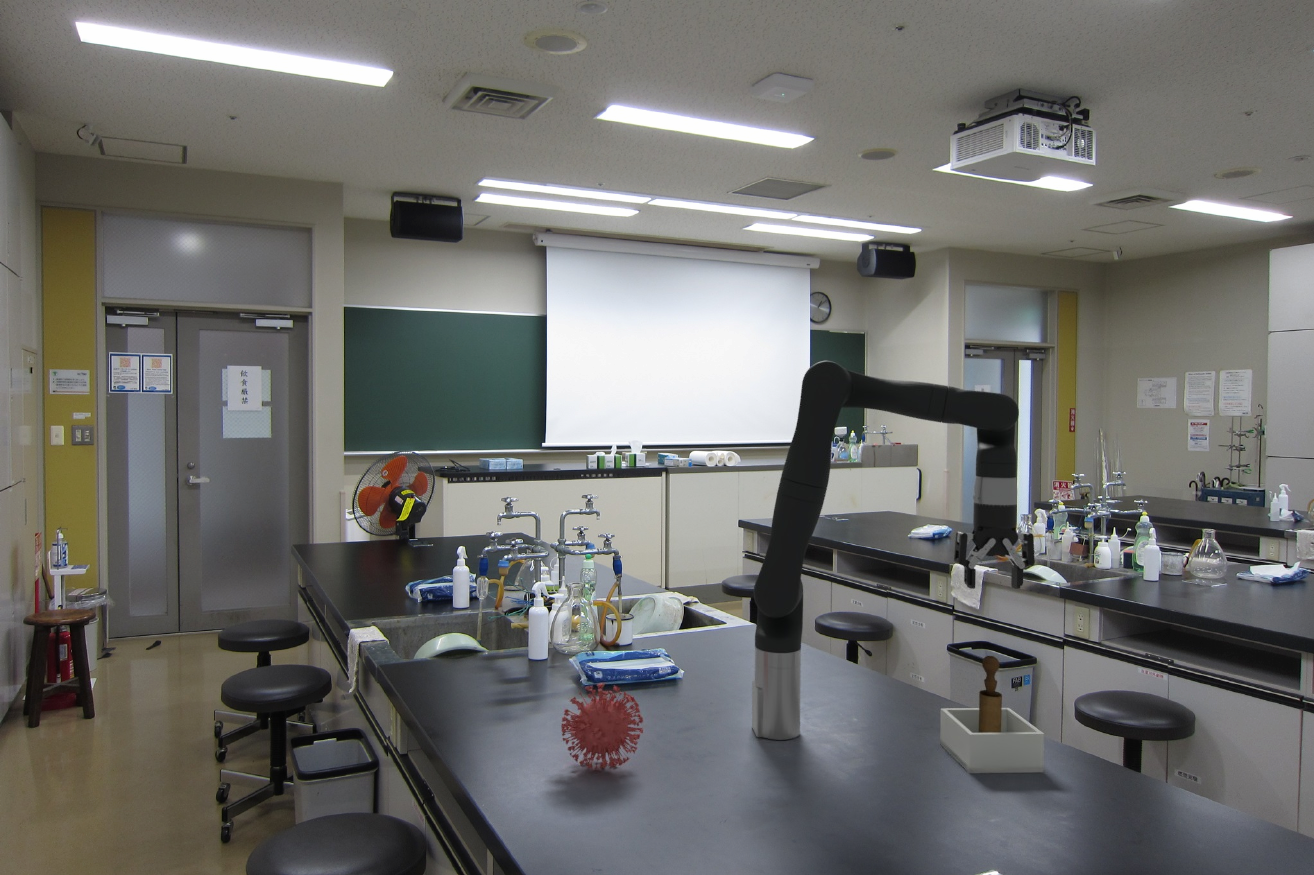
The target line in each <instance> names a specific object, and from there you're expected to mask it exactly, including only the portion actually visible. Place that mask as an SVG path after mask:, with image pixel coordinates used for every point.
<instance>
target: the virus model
mask: <svg viewBox="0 0 1314 875" xmlns="http://www.w3.org/2000/svg"><path fill="white" fill-rule="evenodd" d="M605 685H606V683H605V682H600V683H598V684H596V686H597V688H598V689H593V688H594V685H588V686H586V687H584V689H585V690H587V691H588V692H589V694H587V695H586V696H587V697H588V698H589V699H590V702H587V701H586V699H585V697H584V696H583V695H582V692H578V694H579V695H580V696H581V698H582V699H583V701H581V702H580V701H579V700H577V698H576V696H574V697H573V698H571V699H570V700H569V702H571V704H572V705H576V706H577V711H580V712H579V714H577V713H575V712H572V710H571V711H570V710H569V709H567V708H565V709H564V711H563V715H564V716H563V717H562V718H561V722H562V723H561V726H560V727H561V735H562V741H563V742H565V744H566V745H568V743H569V742H571V745H570V746H568V747H567V751H568V752H569V756H571V757H572V758H573V760H574V761H575V762H576V763H578V764H580V766H584V765H585V766H587V769H590V770H591V769H593V770H595V771H596V770H598V771H599V768H598V763H596V765H595V766H593V761H594V760H595V759H596V761H600V760H601V761H602V762H601V763H600V765H599V767H600V768H601V769H605V768H606V767H607V765H608V767H609V768H617V766H618V767H621V766H622V765H624V764H625V763H626V762H628V761H629V760H630V757H628V756H627V755H625V757H623V755H622V753H621V751H622V752H623V754H625V752H626V754H628V753H630V754H631V753H633V754H636V751H637V750H638V747H637V745H638V743H639V742H638V740H640V737H641V734H644V728H643V727H639V726H640V724H643V723H644V717H643V716H642V715H641V714H640V713H641V711H640V705H639V703H638V701H636V699H635V698H634V696H633V695H630V693H626V692H625V691H624V692H622V691H621V687H618V686H617V685H612V686H613V688H612V689H613V691H612V690H603V688H604V686H605ZM596 690H597V691H598V692H597V691H596ZM596 692H597V696H596ZM617 694H618V697H617ZM608 695H609V696H608ZM621 695H622V698H620V696H621ZM597 697H598V698H597ZM619 698H620V699H619ZM584 703H585V704H586V705H585V704H584ZM628 703H630V706H629V704H628ZM632 703H633V704H632ZM627 704H628V705H627ZM628 706H629V707H628ZM569 716H570V718H568V717H569ZM636 717H637V719H636ZM632 725H633V726H634V727H633V726H632ZM636 726H637V727H636ZM632 732H634V733H632ZM636 732H637V733H636ZM568 734H570V736H568V737H564V736H565V735H568ZM621 747H622V748H621ZM622 749H623V750H624V751H625V752H624V751H623V750H622ZM584 750H585V751H584ZM620 750H621V751H620ZM571 751H572V752H571ZM583 751H584V752H583ZM574 752H575V753H574ZM573 753H574V754H573ZM572 754H573V755H572ZM580 755H583V757H582V759H581V760H580V761H579V762H578V759H579V757H580ZM607 756H608V757H607ZM615 756H616V757H615ZM621 757H622V758H621ZM607 758H608V760H607ZM608 761H609V762H608Z"/></svg>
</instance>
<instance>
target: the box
mask: <svg viewBox="0 0 1314 875" xmlns="http://www.w3.org/2000/svg"><path fill="white" fill-rule="evenodd" d="M939 726H940V727H939V729H940V730H939V731H940V732H939V733H940V736H939V737H940V738H939V740H940V741H939V744H940V745H941V747H942V748H943V749H945V751H947V753H948V754H949V755H950V756H951V757H952V758H954V760H955V761H957V763H958V764H959V763H960V764H959V766H961V765H962V766H961V767H964V768H965V769H964V768H963V769H964V770H965V771H966V770H967V771H966V772H967V773H968V774H1013V773H1014V774H1015V773H1018V774H1020V773H1022V774H1023V773H1025V774H1026V773H1032V774H1033V773H1044V761H1045V760H1044V756H1045V755H1044V754H1045V733H1044V732H1042V731H1041V730H1040V729H1038V728H1037V727H1036V726H1034V725H1033V723H1032V724H1031V723H1030V722H1029V721H1028V720H1026V719H1025V718H1023V717H1022V716H1021V715H1019V714H1018V713H1016V712H1015V711H1014V710H1012V709H1011V708H1010V707H1002V713H1001V733H978V732H979V707H977V708H976V707H974V708H973V707H972V708H971V707H968V708H967V707H965V708H964V707H963V708H962V707H961V708H960V707H959V708H958V707H957V708H954V707H952V708H950V707H949V708H940V725H939Z"/></svg>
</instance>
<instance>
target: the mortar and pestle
mask: <svg viewBox="0 0 1314 875" xmlns="http://www.w3.org/2000/svg"><path fill="white" fill-rule="evenodd" d="M981 665H982V666H981V667H983V670H984V672H985V674H986V677H985V679H984V680H983V683H984V686H985V689H983V690H982V689H981V690H979V693H978V694H979V696H978V698H979V699H978V702H979V703H978V705H979V706H978V708H979V732H978V733H1001V713H1002V708H1003V705H1002V704H1003V694H1002V693H1001V692H998V691H996V688H997V685H998V681H997V680H996V678H995V676H996V674H997V672H998V671H999V668H1000V662H999V659H998V658H997V657H996V656H994V655H986V656H985V657H984V658H983V659H982V661H981Z"/></svg>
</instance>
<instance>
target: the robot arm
mask: <svg viewBox="0 0 1314 875" xmlns="http://www.w3.org/2000/svg"><path fill="white" fill-rule="evenodd" d="M800 391H801V392H800V400H799V407H798V412H797V413H798V414H797V422H796V425H795V429H794V433H793V436H792V439H791V441H790V445H789V448H788V451H787V455H786V458H785V461H784V465H783V469H782V471H781V472H782V473H781V475H780V476H781V477H780V480H779V484H778V489H777V492H776V499H775V504H774V509H773V514H772V520H771V521H772V522H771V528H770V536H769V541H768V545H767V549H766V553H765V555H764V559H763V562H762V564H761V567H760V571H759V573H758V575H757V578H756V581H755V583H754V586H753V598H754V603H755V605H756V606H757V616H756V618H757V619H756V627H755V631H754V632H755V633H754V680H752V687H751V689H752V690H751V691H752V692H751V696H752V698H751V699H752V700H751V727H752V729H753V732H754V734H755V736H756V738H764V739H769V740H776V741H777V740H778V741H783V740H790V739H792V740H793V739H795V738H797V737H799V736H800V733H801V686H802V684H801V682H802V680H801V679H802V678H801V677H802V675H801V674H802V671H801V669H802V668H801V666H802V636H803V635H802V634H803V628H804V626H803V622H804V621H803V620H804V585H803V580H802V579H801V578H802V571H803V565H804V560H805V556H806V553H807V549H808V546H809V544H810V542H811V540H812V537H813V534H814V532H815V529H816V527H817V524H818V521H819V519H820V516H821V513H822V510H823V506H824V503H825V498H826V494H827V491H828V484H829V480H830V473H831V464H832V462H831V461H832V449H833V448H832V446H833V438H834V433H835V429H836V426H837V422H838V420H839V416H840V413H841V411H842V408H843V409H844V408H845V409H846V408H850V409H851V408H854V409H855V408H856V409H857V408H858V409H868V410H876V411H882V412H888V413H891V414H896V415H900V416H905V417H907V418H908V417H909V418H914V419H918V420H923V421H930V422H934V423H935V422H936V423H943V424H949V425H950V424H951V425H952V424H953V425H961V426H965V427H970V428H975V429H976V442H977V447H976V448H977V450H976V456H975V480H974V486H973V496H972V497H973V498H972V499H973V513H972V514H973V515H972V516H973V519H972V521H973V522H972V525H973V529H972V531H971V533H970V532H963V531H957V532H956V534H955V542H954V556H953V561H954V563H956V564H957V565H961V566H962V567H963V569H964V570H963V571H964V572H963V582H964V584H965V585H966V587H967V588H969V589H970V590H972V589H973V590H974V589H976V577H977V576H976V572H977V571H976V570H977V569H976V568H975V567H976V566H977V565H978V563H979V562H980V561H982V560H983V559H984V558H985V556H987V557H995V556H999V557H1006V558H1007V559H1008V560H1009V561H1010V563H1011V565H1013V566H1012V567H1011V579H1010V580H1011V581H1010V583H1011V584H1010V585H1011V588H1013V589H1015V590H1020V589H1021V586H1023V584H1024V570H1025V568H1026V567H1028V566H1033V565H1034V566H1035V539H1034V538H1035V536H1034V534H1033V533H1030V532H1029V531H1028V532H1027V531H1022V532H1021V533H1019V532H1017V524H1018V523H1017V521H1018V484H1017V451H1016V449H1015V439H1016V437H1015V436H1016V423H1017V421H1018V419H1019V416H1020V415H1019V414H1020V409H1019V407H1018V404H1017V402H1016V401H1015V400H1014V398H1012V397H1011V396H1009V395H1007V394H1004V393H1001V392H991V391H982V390H972V389H963V388H959V387H956V386H950V385H946V384H945V385H944V384H939V383H938V384H936V383H930V382H924V381H923V382H922V381H911V380H898V379H887V378H879V377H874V376H870V375H866V374H863V373H860V372H856V371H853V370H850V369H848V368H845V367H844V366H842V365H841V364H839V363H837V362H834V361H832V360H821V361H819V362H816V363H814V364H813V365H811V366H810V367H809V368H808V369H807V370H806V372H805V374H804V376H803V377H802V381H801V390H800ZM971 541H972V542H973V544H974V545H973V547H972V549H971V550H970V551H969V554H968V556H967V551H968V550H967V549H968V545H969V544H970V543H971ZM1017 542H1019V544H1020V545H1021V557H1020V554H1019V553H1018V552H1017V550H1016V549H1015V547H1014V546H1015V545H1016V543H1017Z"/></svg>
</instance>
